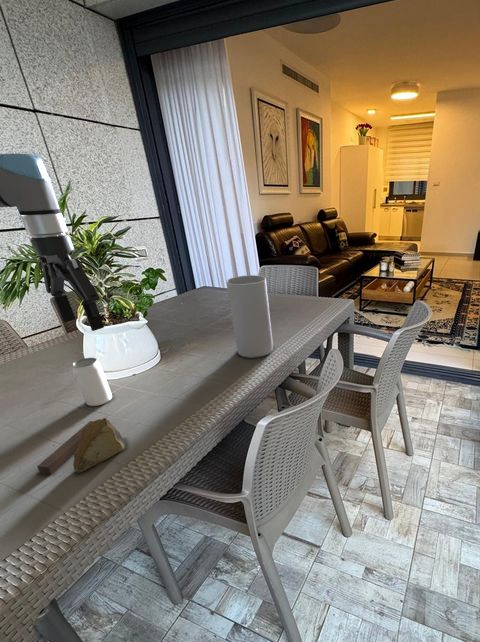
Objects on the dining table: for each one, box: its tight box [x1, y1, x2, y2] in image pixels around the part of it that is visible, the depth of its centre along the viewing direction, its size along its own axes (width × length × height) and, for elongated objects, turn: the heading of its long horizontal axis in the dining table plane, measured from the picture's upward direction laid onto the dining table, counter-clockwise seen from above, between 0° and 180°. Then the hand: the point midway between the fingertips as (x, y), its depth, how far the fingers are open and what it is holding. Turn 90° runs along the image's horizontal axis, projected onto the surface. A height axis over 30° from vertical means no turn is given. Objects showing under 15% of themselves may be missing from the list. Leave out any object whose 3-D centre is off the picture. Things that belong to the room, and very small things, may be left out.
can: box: [71, 357, 113, 407], centre depth 96 cm, size 6×6×12 cm
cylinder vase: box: [225, 274, 274, 359], centre depth 119 cm, size 12×12×25 cm
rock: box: [72, 417, 126, 474], centre depth 76 cm, size 11×9×10 cm
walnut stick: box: [36, 420, 94, 475], centre depth 80 cm, size 16×2×2 cm, turn 173°
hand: (83, 324), depth 89 cm, fingers open, 13 cm apart
